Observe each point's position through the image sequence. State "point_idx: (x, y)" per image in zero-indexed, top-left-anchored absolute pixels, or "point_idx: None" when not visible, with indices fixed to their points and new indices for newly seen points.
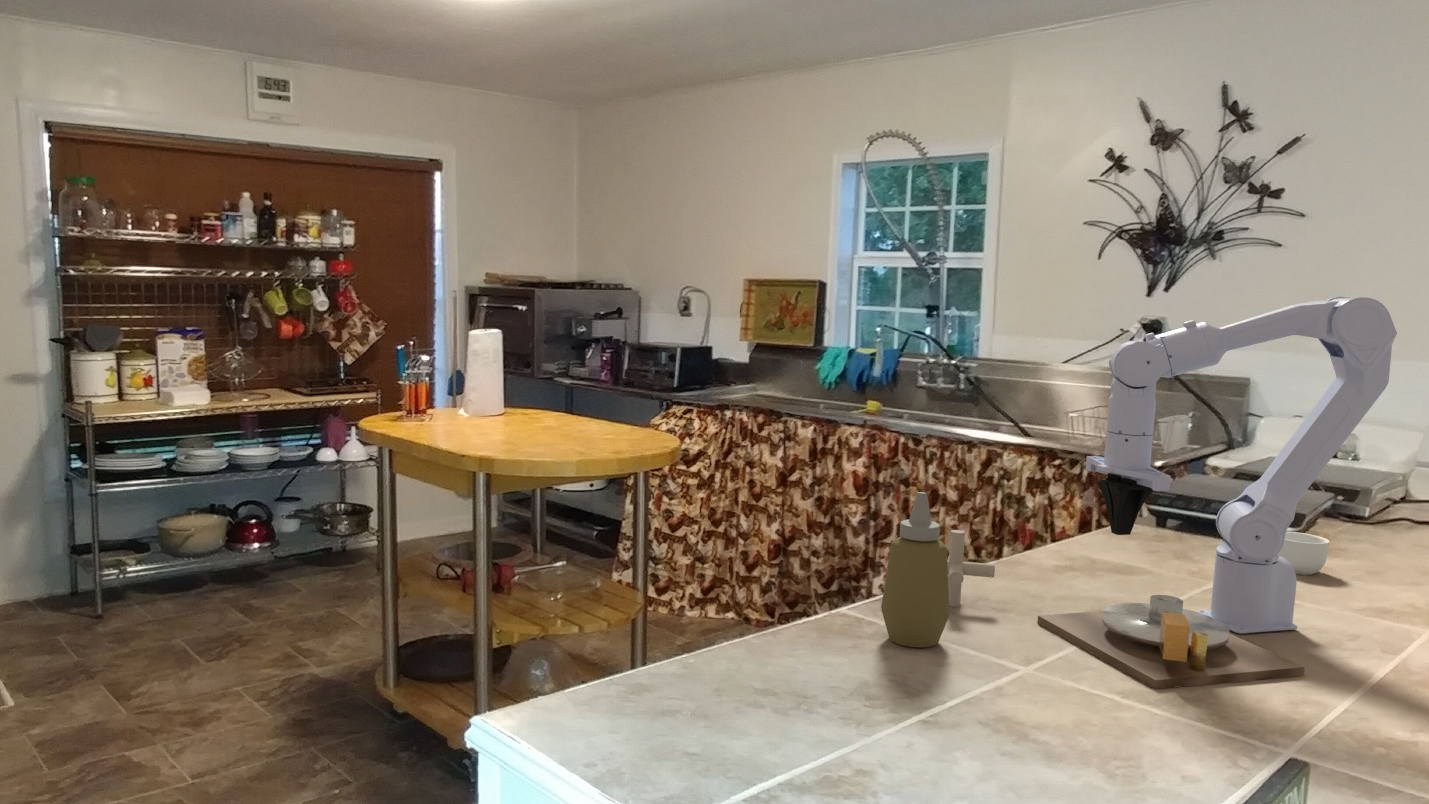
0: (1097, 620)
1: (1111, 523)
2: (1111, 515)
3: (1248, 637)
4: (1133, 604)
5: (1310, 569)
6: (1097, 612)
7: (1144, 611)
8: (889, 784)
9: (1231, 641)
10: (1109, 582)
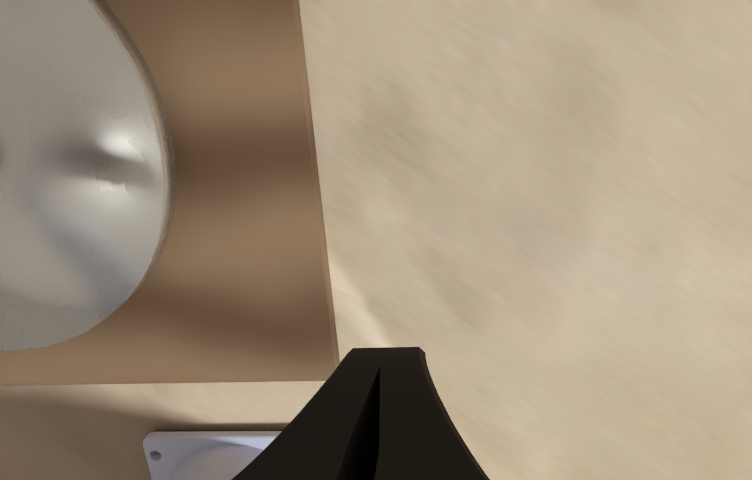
0: (191, 14)
1: (402, 375)
2: (388, 411)
3: (133, 442)
4: (143, 161)
5: None
6: (289, 76)
7: (52, 148)
8: None
9: None
10: (713, 396)
